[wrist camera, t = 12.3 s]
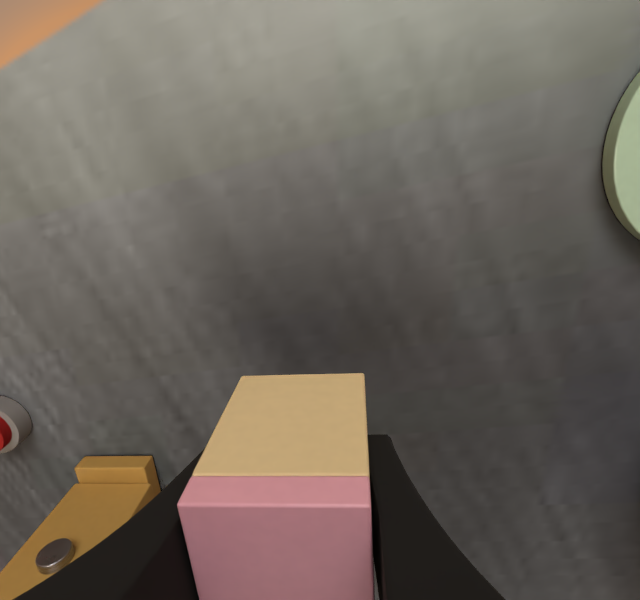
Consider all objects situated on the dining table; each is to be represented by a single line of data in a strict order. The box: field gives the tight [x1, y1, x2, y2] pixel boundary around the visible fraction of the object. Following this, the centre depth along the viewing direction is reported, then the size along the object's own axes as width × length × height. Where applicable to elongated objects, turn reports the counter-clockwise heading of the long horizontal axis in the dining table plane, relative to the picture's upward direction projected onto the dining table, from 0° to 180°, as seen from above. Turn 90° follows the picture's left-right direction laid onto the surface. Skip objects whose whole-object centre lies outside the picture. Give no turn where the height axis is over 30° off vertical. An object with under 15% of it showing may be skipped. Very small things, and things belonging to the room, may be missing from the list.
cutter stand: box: [0, 456, 161, 600], centre depth 21 cm, size 4×7×7 cm, turn 4°
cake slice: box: [177, 373, 375, 600], centre depth 11 cm, size 4×4×5 cm
